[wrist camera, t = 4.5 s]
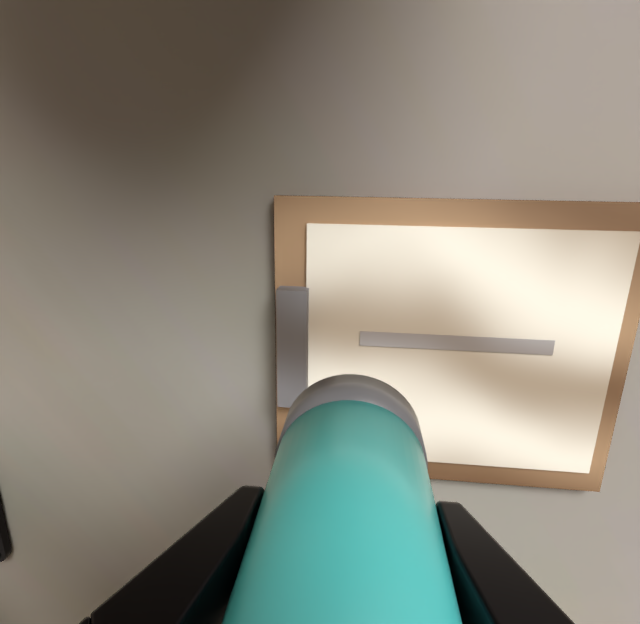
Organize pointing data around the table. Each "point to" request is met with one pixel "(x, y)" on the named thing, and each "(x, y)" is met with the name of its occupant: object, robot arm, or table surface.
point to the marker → (346, 517)
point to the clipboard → (468, 323)
